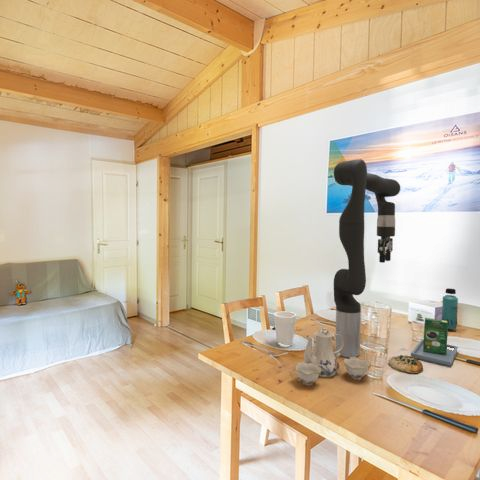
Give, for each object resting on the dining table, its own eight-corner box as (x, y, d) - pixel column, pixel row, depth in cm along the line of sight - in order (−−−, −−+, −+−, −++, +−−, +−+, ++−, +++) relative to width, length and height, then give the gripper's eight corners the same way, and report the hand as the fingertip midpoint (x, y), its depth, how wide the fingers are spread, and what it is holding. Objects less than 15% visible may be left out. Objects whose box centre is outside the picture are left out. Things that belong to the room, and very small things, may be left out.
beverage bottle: (438, 328, 160) (439, 288, 158) (446, 327, 162) (448, 286, 161) (451, 333, 154) (453, 290, 153) (460, 331, 157) (461, 289, 155)
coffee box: (446, 353, 128) (447, 320, 128) (447, 355, 126) (448, 322, 125) (423, 349, 132) (424, 317, 132) (423, 351, 130) (424, 319, 129)
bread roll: (418, 362, 122) (419, 349, 121) (426, 380, 111) (427, 366, 111) (386, 360, 125) (386, 347, 124) (391, 377, 115) (391, 363, 114)
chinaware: (301, 398, 100) (304, 347, 98) (278, 369, 116) (281, 325, 113) (377, 384, 109) (382, 337, 106) (346, 359, 124) (350, 317, 122)
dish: (450, 367, 117) (450, 362, 117) (410, 358, 126) (410, 353, 126) (457, 351, 132) (457, 346, 132) (421, 343, 140) (421, 339, 140)
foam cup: (289, 350, 133) (289, 319, 132) (269, 345, 139) (269, 315, 138) (299, 343, 141) (300, 313, 140) (281, 339, 146) (281, 310, 146)
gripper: (390, 225, 140) (389, 263, 141) (399, 225, 151) (398, 260, 152) (372, 225, 145) (371, 262, 146) (382, 225, 156) (381, 259, 157)
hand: (385, 261), depth 149 cm, fingers open, 8 cm apart
